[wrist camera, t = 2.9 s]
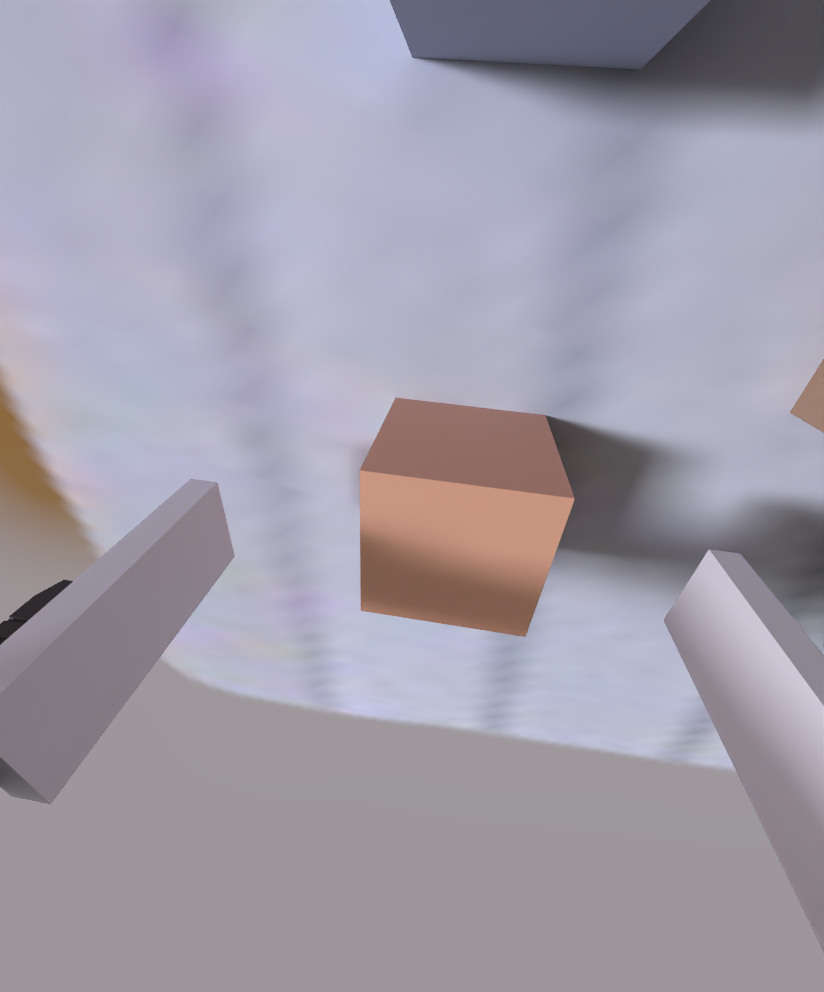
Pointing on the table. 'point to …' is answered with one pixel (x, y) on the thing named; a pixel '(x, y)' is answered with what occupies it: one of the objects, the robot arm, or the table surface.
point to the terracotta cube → (460, 515)
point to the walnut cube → (812, 401)
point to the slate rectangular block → (544, 30)
